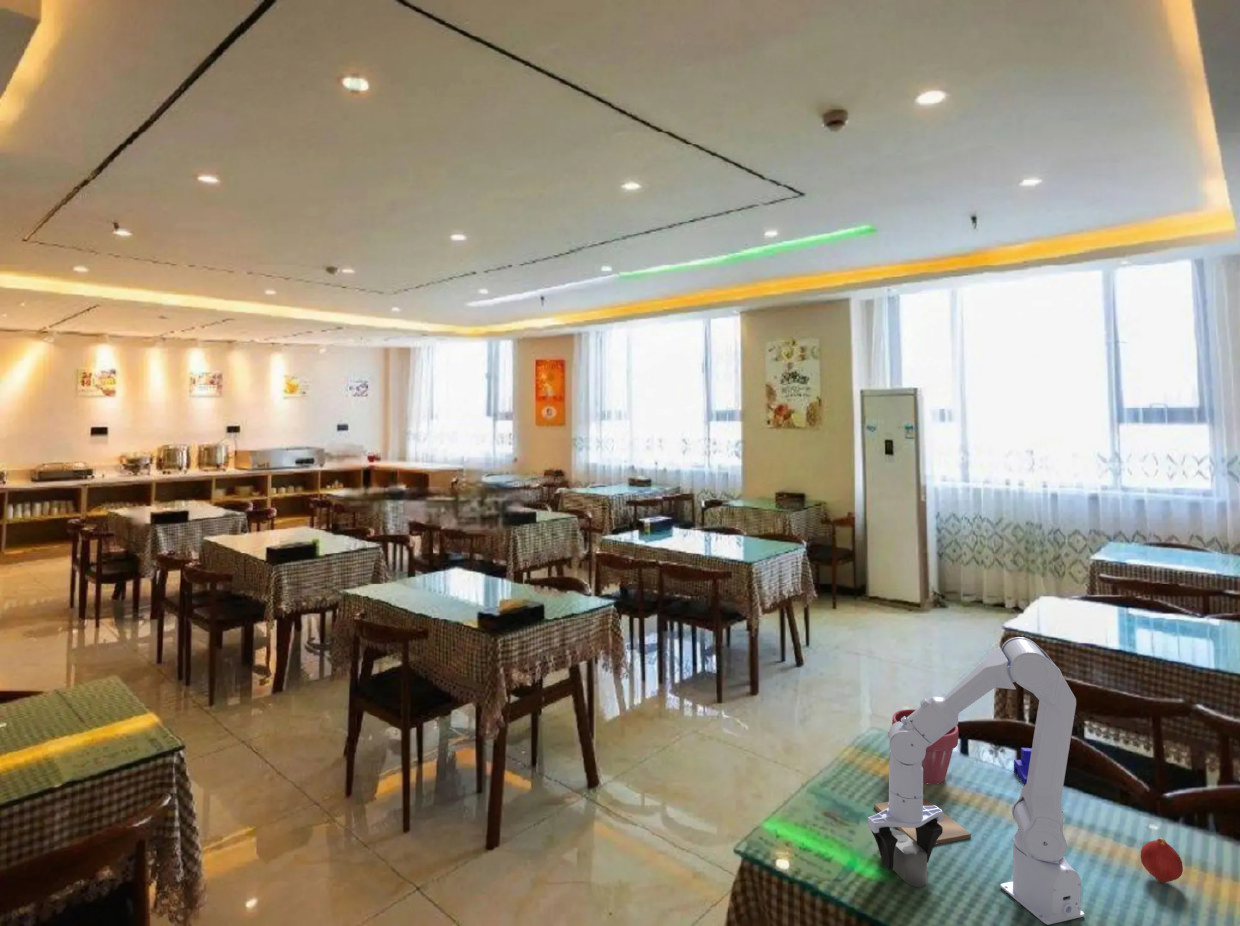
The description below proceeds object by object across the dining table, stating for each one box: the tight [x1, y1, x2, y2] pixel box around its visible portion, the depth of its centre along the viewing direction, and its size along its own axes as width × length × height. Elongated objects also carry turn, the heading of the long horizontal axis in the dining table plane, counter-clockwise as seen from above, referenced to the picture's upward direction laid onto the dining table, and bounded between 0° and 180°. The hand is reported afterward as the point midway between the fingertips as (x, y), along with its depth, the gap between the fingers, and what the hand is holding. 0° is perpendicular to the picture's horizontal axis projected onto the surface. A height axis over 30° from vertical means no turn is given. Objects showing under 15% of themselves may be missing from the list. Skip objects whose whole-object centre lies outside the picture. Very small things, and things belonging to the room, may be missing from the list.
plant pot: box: [891, 708, 959, 785], centre depth 152 cm, size 14×14×13 cm
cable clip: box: [1013, 747, 1032, 786], centre depth 147 cm, size 12×4×6 cm, turn 169°
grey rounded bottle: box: [890, 829, 928, 888], centre depth 119 cm, size 10×4×5 cm, turn 14°
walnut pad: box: [873, 797, 972, 845], centre depth 133 cm, size 14×12×1 cm
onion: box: [1140, 837, 1184, 884], centre depth 115 cm, size 6×6×8 cm
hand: (905, 862), depth 118 cm, fingers open, 7 cm apart
